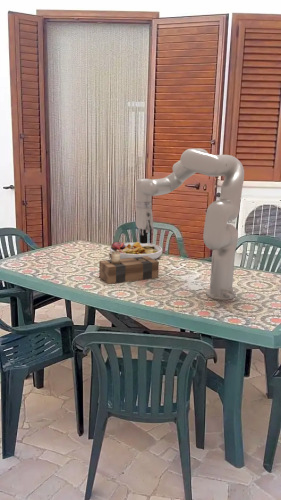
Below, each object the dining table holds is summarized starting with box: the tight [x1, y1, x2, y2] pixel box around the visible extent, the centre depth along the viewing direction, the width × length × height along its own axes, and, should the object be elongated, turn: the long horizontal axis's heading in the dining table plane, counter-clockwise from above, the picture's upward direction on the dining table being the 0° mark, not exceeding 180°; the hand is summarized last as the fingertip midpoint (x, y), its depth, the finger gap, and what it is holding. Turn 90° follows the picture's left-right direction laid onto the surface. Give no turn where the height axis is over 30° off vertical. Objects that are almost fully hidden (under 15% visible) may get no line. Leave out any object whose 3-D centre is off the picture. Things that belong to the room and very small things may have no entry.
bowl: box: [109, 241, 163, 260], centre depth 259 cm, size 30×30×8 cm
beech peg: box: [111, 251, 120, 265], centre depth 214 cm, size 4×4×8 cm
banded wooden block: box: [98, 256, 160, 285], centre depth 218 cm, size 12×26×8 cm, turn 116°
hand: (143, 242), depth 218 cm, fingers closed
